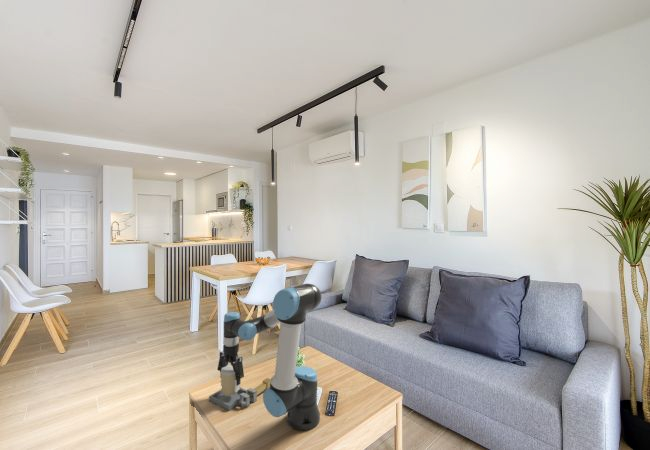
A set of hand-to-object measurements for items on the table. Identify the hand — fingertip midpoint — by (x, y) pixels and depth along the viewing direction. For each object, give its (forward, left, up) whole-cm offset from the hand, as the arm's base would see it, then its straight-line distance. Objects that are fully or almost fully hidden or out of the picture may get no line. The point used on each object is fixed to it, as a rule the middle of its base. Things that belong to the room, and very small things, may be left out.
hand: (230, 387), depth 155 cm
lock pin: (-10, -11, -5) cm, 16 cm away
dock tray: (-3, 0, -6) cm, 6 cm away
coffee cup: (0, 0, -2) cm, 2 cm away
